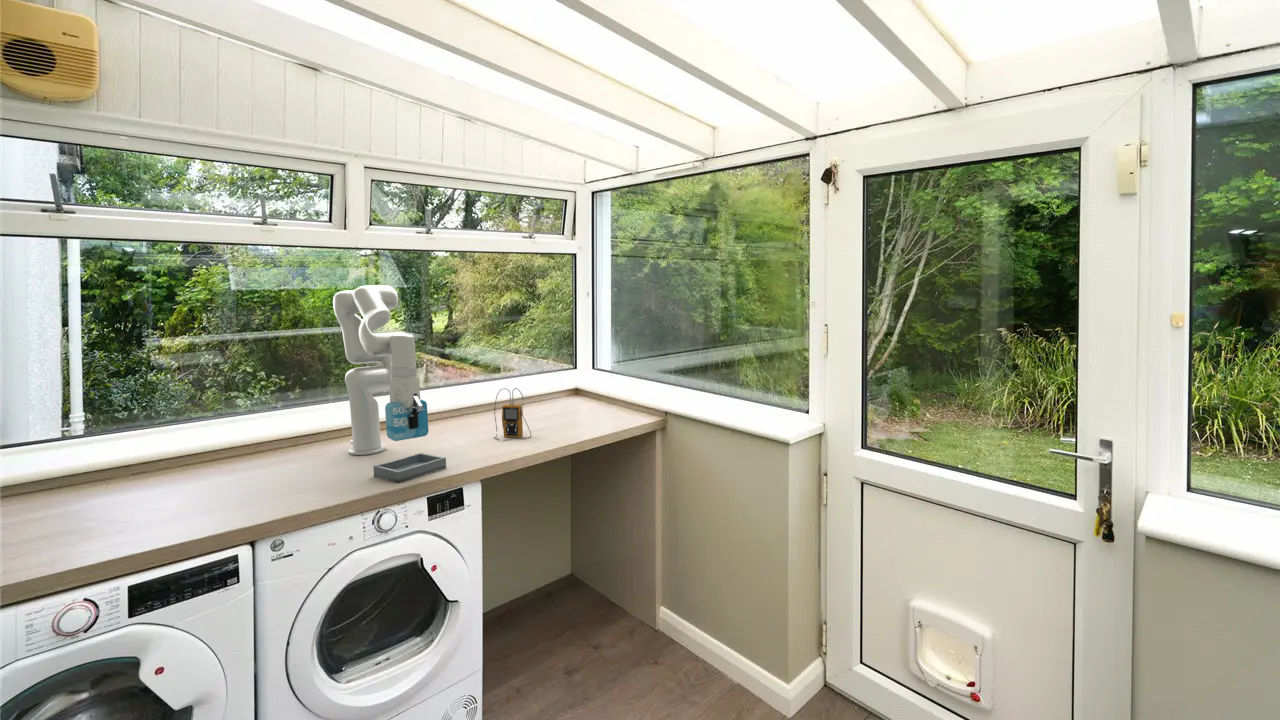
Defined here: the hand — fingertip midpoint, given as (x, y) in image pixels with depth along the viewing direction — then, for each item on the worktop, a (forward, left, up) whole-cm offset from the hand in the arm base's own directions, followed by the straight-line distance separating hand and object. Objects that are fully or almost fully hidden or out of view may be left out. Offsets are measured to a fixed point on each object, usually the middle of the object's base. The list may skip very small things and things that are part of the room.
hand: (407, 426), depth 193 cm
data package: (0, 0, -4) cm, 4 cm away
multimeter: (-3, +48, -16) cm, 51 cm away
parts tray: (0, 0, -15) cm, 15 cm away
